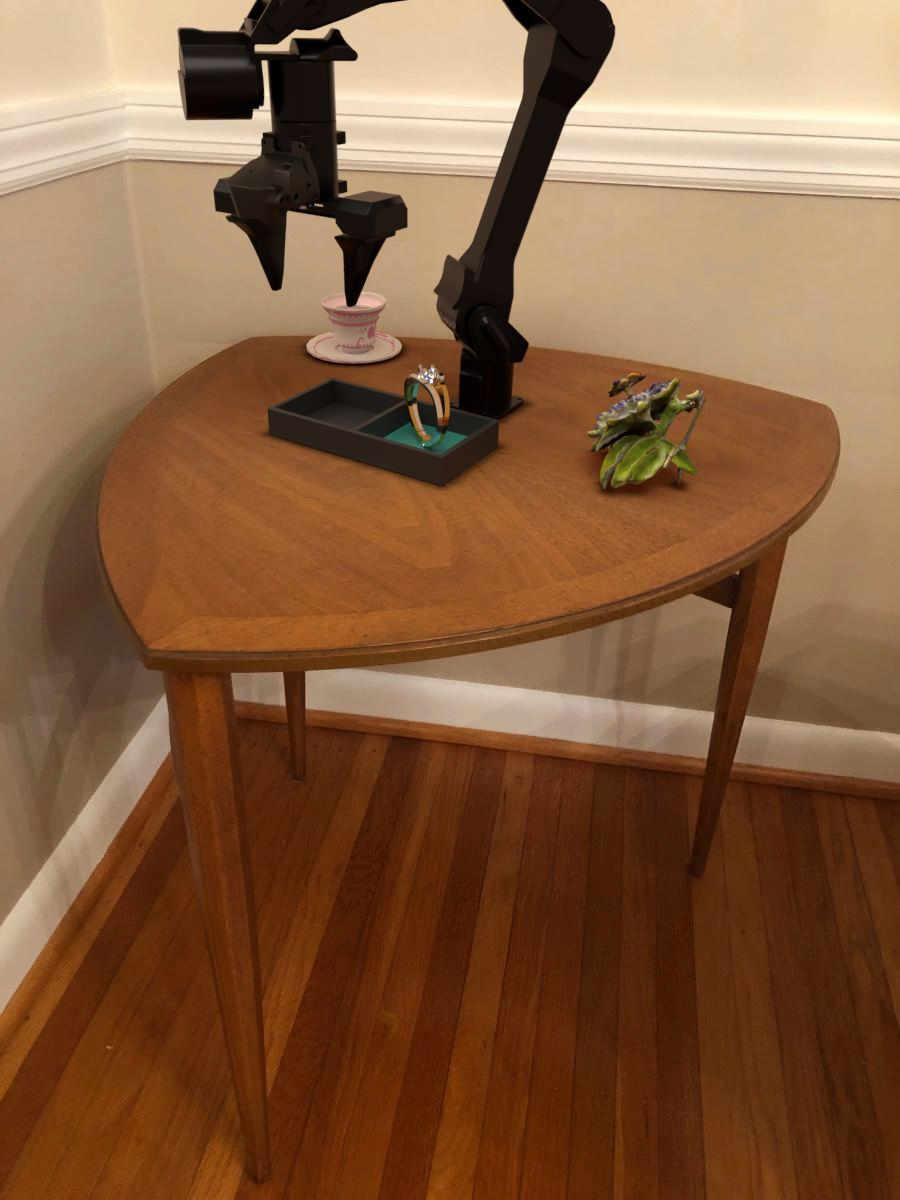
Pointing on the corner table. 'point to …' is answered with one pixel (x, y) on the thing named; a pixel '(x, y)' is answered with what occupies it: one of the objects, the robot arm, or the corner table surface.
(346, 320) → the teacup
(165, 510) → the corner table surface
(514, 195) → the robot arm
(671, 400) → the passion flower
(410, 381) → the ring
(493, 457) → the corner table surface
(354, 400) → the tray
